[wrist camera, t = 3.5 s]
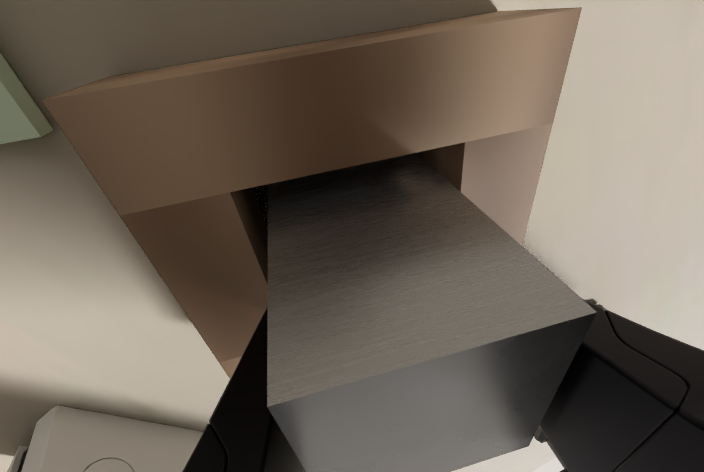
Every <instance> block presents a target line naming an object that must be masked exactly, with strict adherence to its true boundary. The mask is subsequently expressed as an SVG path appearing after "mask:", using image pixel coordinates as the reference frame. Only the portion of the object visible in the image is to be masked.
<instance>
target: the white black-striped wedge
mask: <svg viewBox="0 0 704 472" xmlns="http://www.w3.org/2000/svg"><path fill="white" fill-rule="evenodd" d="M202 433H203V432H202V431H196V430H191V429H185V428H180V427H174V426H169V425H163V424H158V423H152V422H147V421H141V420H136V419H130V418H124V417H119V416H113V415H108V414H102V413H97V412H91V411H86V410H80V409H75V408H69V407H64V406H58V405H57V406H56V407H54V408H52V409H51V410H50V411H49V412H47V413H46V414H45V415H44V416H43V417H42V418H41V419H40V420H38V421H37V423H36V426H35V429H34V433H33V436H32V439H31V442H30V445H29V447H27V446H19V447H18V450H17V452H16V454H15V456H14V458H13V461H12V463H11V465H10V467H9V469H8V472H182V471H183V469H184V467H185V465H186V464H187V462H188V460H189V458H190V456H191V454H192V452H193V451H194V449H195V447H196V445H197V443H198V441H199V439H200V437H201V435H202Z"/></svg>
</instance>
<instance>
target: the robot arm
mask: <svg viewBox="0 0 704 472" xmlns="http://www.w3.org/2000/svg"><path fill="white" fill-rule="evenodd" d="M583 300H584V299H583ZM584 301H585V302H586V303H587V304H588V305H589V306H591V307H592V308H593V309H594V310H595V311H596V312H597V313H596V315H595V317H594V319H593V321H592V323H591V325H590V327H589V329H588V331H587V333H586V335H585V337H584V339H583V341H582V343H581V345H580V347H579V349H578V351H577V352H576V354H575V356H574V358H573V360H572V362H571V364H570V366H569V368H568V370H567V372H566V374H565V376H564V378H563V380H562V382H561V384H560V386H559V388H558V390H557V391H556V393H555V395H554V397H553V399H552V401H551V403H550V405H549V407H548V409H547V411H546V413H545V415H544V417H543V419H542V421H541V423H540V425H539V427H538V429H537V431H536V432H535V434H534V437H535V439H536V440H538V441H539V442H541V443H543V442H547V443H548V445H549V446H550V448H551V449H552V451H553V452H554V454H555V455H556V457H557V458H558V460H559V461H560V463H561V464H562V466H563V467H564V470H562V471H560V472H704V350H701V349H698V348H696V347H693V346H691V345H688V344H686V343H683V342H681V341H678V340H676V339H673V338H671V337H668V336H666V335H663V334H661V333H658V332H656V331H654V330H651V329H649V328H647V327H644V326H642V325H640V324H637V323H635V322H633V321H631V320H628V319H626V318H624V317H622V316H619V315H617V314H615V313H613V312H611V311H608V310H606V309H605V308H604V307H603V306H602V305H600V304H599V305H595V304H593V303H591V302H588V301H586V300H584ZM267 333H268V306H267V308H266V310H265V312H264V314H263V316H262V318H261V320H260V322H259V324H258V326H257V328H256V330H255V332H254V334H253V336H252V337H251V339H250V341H249V343H248V345H247V347H246V349H245V351H244V353H243V355H242V357H241V359H240V361H239V363H238V365H237V367H236V369H235V371H234V373H233V375H232V377H231V379H230V381H229V383H228V385H227V387H226V389H225V390H224V392H223V394H222V396H221V398H220V400H219V402H218V404H217V406H216V408H215V410H214V412H213V414H212V416H211V418H210V420H209V423H210V424H207V425H206V427H205V429H204V431H203V433H202V435H201V437H200V439H199V441H198V443H197V445H196V447H195V449H194V451H193V452H192V454H191V456H190V458H189V460H188V462H187V464H186V465H185V467H184V469H183V471H182V472H306V471H305V469H304V467H303V466H302V464H301V462H300V461H299V459H298V457H297V456H296V454H295V452H294V451H293V449H292V447H291V446H290V444H289V442H288V441H287V439H286V437H285V436H284V434H283V432H282V431H281V429H280V427H279V426H278V424H277V422H276V421H275V419H274V417H273V416H272V414H271V412H270V411H269V409H268V407H267Z"/></svg>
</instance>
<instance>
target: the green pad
mask: <svg viewBox="0 0 704 472" xmlns="http://www.w3.org/2000/svg"><path fill="white" fill-rule="evenodd" d="M52 131H54V130H53V128H52V127H51V125H50V124H49V122H48V121H47V120H46V118H45V117H44V115H43V114H42V112H41V111H40V109H39V108H38V107H37V105H36V104H35V102H34V101H33V99H32V98H31V96H30V95H29V94H28V92H27V91H26V89H25V88H24V86H23V85H22V83H21V82H20V81H19V79H18V78H17V76H16V75H15V73H14V72H13V70H12V69H11V67H10V66H9V65H8V63H7V62H6V60H5V59H4V57H3V56H2V54H1V53H0V144H5V143H10V142H16V141H21V140H27V139H32V138H38V137H42V136H44V135H46V134H48V133H50V132H52Z"/></svg>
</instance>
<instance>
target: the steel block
mask: <svg viewBox="0 0 704 472" xmlns="http://www.w3.org/2000/svg"><path fill="white" fill-rule="evenodd" d="M596 313H597V312H596V311H595V310H594V309H593V308H592V307H591V306H589V305H588V304H587V303H586V302H585V301H584V300H583V299H582V298H580V297H579V296H578V295H577V294H576V293H575V292H574V291H572V290H571V289H570V288H569V287H568V286H567V285H566V284H564V283H563V282H562V281H561V280H560V279H559V278H558V277H557V276H555V275H554V274H553V273H552V272H551V271H550V270H549V269H547V268H546V267H545V266H544V265H543V264H542V263H541V262H540V261H538V260H537V259H536V258H535V257H534V256H533V255H532V254H530V253H529V252H528V251H527V250H526V249H525V248H524V247H522V246H521V245H520V244H519V243H518V242H517V241H516V240H515V239H513V238H512V237H511V236H510V235H509V234H508V233H507V232H505V231H504V230H503V229H502V228H501V227H500V226H499V225H498V224H496V223H495V222H494V221H493V220H492V219H491V218H490V217H488V216H487V215H486V214H485V213H484V212H483V211H482V210H480V209H479V208H478V207H477V206H476V205H475V204H474V203H473V202H471V201H470V200H469V199H468V198H467V197H466V196H465V195H463V194H462V193H461V192H460V191H459V190H458V189H457V188H456V187H454V186H453V185H452V184H451V183H450V182H449V181H448V180H446V179H445V178H444V177H443V176H442V175H441V174H440V173H438V172H437V171H436V170H435V169H434V168H433V167H432V166H431V165H429V164H428V163H427V162H426V161H425V160H424V159H423V158H421V157H420V156H419V155H418V154H417V153H412V154H407V155H403V156H398V157H393V158H388V159H384V160H379V161H374V162H370V163H365V164H360V165H356V166H351V167H346V168H342V169H337V170H332V171H327V172H323V173H318V174H313V175H309V176H304V177H299V178H295V179H290V180H285V181H280V182H276V183H271V184H268V333H267V407H268V409H269V411H270V412H271V414H272V416H273V417H274V419H275V421H276V422H277V424H278V426H279V427H280V429H281V431H282V432H283V434H284V436H285V437H286V439H287V441H288V442H289V444H290V446H291V447H292V449H293V451H294V452H295V454H296V456H297V457H298V459H299V461H300V462H301V464H302V466H303V467H304V469H305V471H306V472H451V471H454V470H457V469H460V468H463V467H466V466H469V465H472V464H475V463H478V462H481V461H484V460H487V459H491V458H494V457H497V456H500V455H503V454H506V453H509V452H512V451H515V450H518V449H521V448H524V447H527V446H529V444H530V442H531V440H532V438H533V436H534V434H535V432H536V431H537V429H538V427H539V425H540V423H541V421H542V419H543V417H544V415H545V413H546V411H547V409H548V407H549V405H550V403H551V401H552V399H553V397H554V395H555V393H556V391H557V390H558V388H559V386H560V384H561V382H562V380H563V378H564V376H565V374H566V372H567V370H568V368H569V366H570V364H571V362H572V360H573V358H574V356H575V354H576V352H577V351H578V349H579V347H580V345H581V343H582V341H583V339H584V337H585V335H586V333H587V331H588V329H589V327H590V325H591V323H592V321H593V319H594V317H595V315H596Z"/></svg>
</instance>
